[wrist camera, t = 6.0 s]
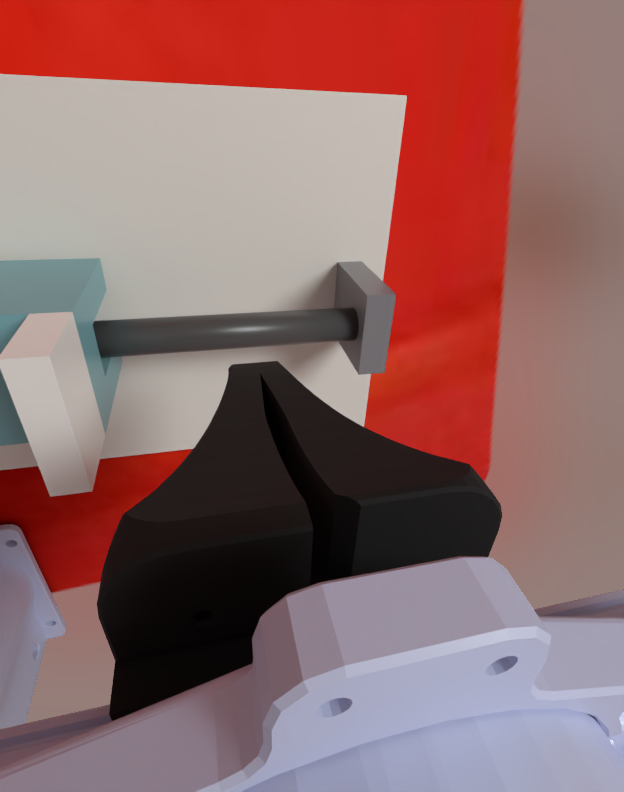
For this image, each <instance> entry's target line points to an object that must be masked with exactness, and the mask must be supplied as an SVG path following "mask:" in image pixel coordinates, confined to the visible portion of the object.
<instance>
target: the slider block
mask: <svg viewBox="0 0 624 792" xmlns="http://www.w3.org/2000/svg"><path fill="white" fill-rule="evenodd" d="M106 290H107V288H106V284H105V279H104V274H103V270H102V265H101V261H100V258H87V259H47V260H8V261H0V446H3V445H13V444H23V443H29V444H30V446H31V449H32V451H33V454H34V456H35V459H36V461H37V464H38V467H39V469H40V472H41V474H42V477H43V479H44V482H45V484H46V487H47V490H48V492H49V495H50V497H52V496H60V495H68V494H76V493H84V492H92V490H93V486H94V482H95V478H96V473H97V469H98V465H99V460H100V456H101V452H102V448H103V443H104V439H105V435H106V430H107V426H108V422H109V418H110V413H111V409H112V405H113V400H114V396H115V392H116V388H117V383H118V379H119V375H120V371H121V366H122V357H109V358H101V357H100V353H99V349H98V345H97V341H96V337H95V333H94V329H93V323H94V320H95V318H96V315H97V313H98V310H99V308H100V305H101V303H102V300H103V298H104V295H105V293H106Z"/></svg>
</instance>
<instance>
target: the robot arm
mask: <svg viewBox="0 0 624 792" xmlns="http://www.w3.org/2000/svg"><path fill="white" fill-rule="evenodd" d="M228 373H229V374H228V380H227V384H226V388H225V391H224V393H223V396H222V399H221V401H220V404H219V406H218V408H217V410H216V412H215V414H214V416H213V418H212V420H211V422H210V424H209V426H208V428H207V429H206V431H205V433H204V434H203V436H202V437H201V439H200V440H199V442H198V443H197V445H196V446H195V447H194V449H193V450H192V451H191V452H190V454H189V455H188V456H187V458H186V459H185V460H184V461H183V462H182V464H181V465H180V466H179V467H178V468H177V469H176V470H175V471H174V472H173V473H172V474H171V475H170V476H169V477H168V478H167V479H166V480H165V481H164V482H163V483H162V484H161V485H160V486H159V487H158V488H157V489H156V490H155V491H154V492H152V493H151V494H150V495H148V496H147V497H146V498H144V499H143V500H142V501H141V502H139V503H138V504H137V505H135V506H134V507H133V508H131V509H130V510H129V511H127V512H126V513H125V514H124V515H123V516H122V518H121V520H120V523H119V525H118V527H117V530H116V532H115V534H114V537H113V540H112V542H111V545H110V548H109V551H108V554H107V557H106V560H105V564H104V568H103V572H102V577H101V583H100V589H99V595H98V601H97V607H98V615H99V620H100V622H101V624H102V627H103V630H104V633H105V635H106V638H107V640H108V643H109V645H110V648H111V651H112V653H113V656H114V658H115V669H114V677H113V686H112V694H111V702H110V705H106V706H102V707H97V708H93V709H88V710H84V711H79V712H75V713H70V714H66V715H61V716H57V717H52V718H48V719H44V720H39V721H35V722H30V723H26V719H27V715H28V711H29V707H30V703H31V699H32V695H33V692H34V687H35V683H36V680H37V676H38V671H39V668H40V664H41V660H42V656H43V652H44V648H45V644H46V640H47V639H50V638H55V637H59V636H62V635H63V634H64V633H65V631H66V624H65V622H64V620H63V618H62V616H61V614H60V612H59V609H58V607H57V605H56V603H55V601H54V599H53V597H52V594H51V592H50V590H49V588H48V586H47V584H46V581H45V579H44V577H43V575H42V573H41V571H40V569H39V566H38V564H37V562H36V560H35V558H34V556H33V554H32V551H31V549H30V547H29V545H28V543H27V541H26V539H25V536H24V534H23V532H22V530H21V529H20V527H18V526H16V525H13V524H6V525H0V792H624V589H623V590H618V591H614V592H609V593H605V594H600V595H596V596H592V597H587V598H583V599H578V600H574V601H569V602H565V603H561V604H556V605H551V606H547V607H543V608H538V609H533V608H532V606H531V605H530V603H529V602H528V600H527V599H526V597H525V596H524V594H523V593H522V591H521V590H520V589H519V587H518V586H517V584H516V583H515V581H514V580H513V578H512V577H511V575H510V574H509V572H508V571H507V569H506V568H505V567H503V566H502V565H501V564H499V563H498V562H497V561H495V560H494V559H492V558H490V557H488V556H489V553H490V551H491V548H492V545H493V543H494V540H495V538H496V535H497V533H498V530H499V527H500V522H501V518H502V512H501V505H500V503H499V502H498V500H497V499H496V497H495V496H494V495H493V493H492V492H491V491H490V489H489V488H488V487H487V485H486V484H485V482H484V481H483V480H482V479H481V477H480V476H479V475H478V474H477V473H476V471H475V470H474V469H473V468H472V467H471V466H470V465H469V464H466V463H462V462H458V461H455V460H451V459H447V458H443V457H439V456H435V455H432V454H428V453H425V452H422V451H419V450H417V449H414V448H411V447H408V446H405V445H403V444H400V443H397V442H395V441H392V440H390V439H388V438H386V437H383V436H381V435H379V434H377V433H375V432H373V431H371V430H369V429H367V428H365V427H363V426H361V425H359V424H357V423H356V422H354V421H352V420H351V419H349V418H347V417H345V416H344V415H342V414H341V413H339V412H338V411H336V410H335V409H333V408H332V407H330V406H329V405H328V404H326V403H325V402H323V401H322V400H321V399H320V398H318V397H317V396H316V395H314V394H313V393H312V392H311V391H310V390H308V389H307V388H306V387H305V386H304V385H303V384H302V383H301V382H299V381H298V380H297V379H296V378H295V377H294V376H293V375H292V374H291V373H290V372H289V371H288V370H287V369H286V368H285V367H284V366H282V365H281V364H280V363H279V362H278V361H270V362H257V363H244V364H232V365H231V366H230V367H229V368H228ZM11 540H14V541H11ZM25 723H26V724H25Z"/></svg>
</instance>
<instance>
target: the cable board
mask: <svg viewBox="0 0 624 792" xmlns="http://www.w3.org/2000/svg"><path fill="white" fill-rule="evenodd" d="M406 100H407V96H406V95H387V94H368V93H349V92H331V91H312V90H293V89H274V88H255V87H236V86H217V85H198V84H179V83H160V82H141V81H122V80H103V79H84V78H65V77H46V76H27V75H8V74H0V261H8V260H47V259H87V258H100V261H101V265H102V270H103V274H104V279H105V284H106V288H107V290H106V293H105V295H104V298H103V300H102V303H101V305H100V308H99V310H98V313H97V315H96V318H95V320H94V323H93V329H94V333H95V337H96V341H97V345H98V349H99V353H100V357H101V358H109V357H122V366H121V371H120V375H119V379H118V383H117V388H116V392H115V396H114V400H113V405H112V409H111V413H110V418H109V422H108V426H107V430H106V435H105V439H104V443H103V448H102V452H101V456H100V459H105V458H114V457H123V456H132V455H141V454H149V453H158V452H167V451H176V450H185V449H194V447H195V446H196V445H197V443H198V442H199V440H200V439H201V437H202V436H203V434H204V433H205V431H206V429H207V428H208V426H209V424H210V422H211V420H212V418H213V416H214V414H215V412H216V410H217V408H218V406H219V404H220V401H221V399H222V396H223V393H224V391H225V388H226V384H227V380H228V374H229V373H228V368H229V367H230V366H231V365H232V364H244V363H257V362H270V361H278V362H279V363H280V364H281V365H282V366H284V367H285V368H286V369H287V370H288V371H289V372H290V373H291V374H292V375H293V376H294V377H295V378H296V379H297V380H298V381H299V382H301V383H302V384H303V385H304V386H305V387H306V388H307V389H308V390H310V391H311V392H312V393H313V394H314V395H316V396H317V397H318V398H320V399H321V400H322V401H323V402H325V403H326V404H328V405H329V406H330V407H332V408H333V409H335V410H336V411H338V412H339V413H341V414H342V415H344V416H345V417H347V418H349V419H351V420H352V421H354V422H356V423H357V424H359V425H361V426H363V427H364V422H365V414H366V407H367V399H368V391H369V384H370V376H371V374H373V373H384V372H385V366H386V359H387V352H388V346H389V339H390V332H391V326H392V319H393V312H394V305H395V299H396V294H395V293H394V292H393V291H392V290H391V289H390V288H389V287H388V286H387V285H386V284H385V283H384V282H383V276H384V269H385V261H386V253H387V246H388V238H389V230H390V223H391V215H392V207H393V200H394V192H395V185H396V177H397V169H398V162H399V154H400V146H401V139H402V131H403V123H404V116H405V108H406ZM34 466H38V464H37V461H36V459H35V456H34V454H33V451H32V449H31V446H30V444H29V443H23V444H13V445H3V446H0V470H8V469H17V468H25V467H34Z"/></svg>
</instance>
